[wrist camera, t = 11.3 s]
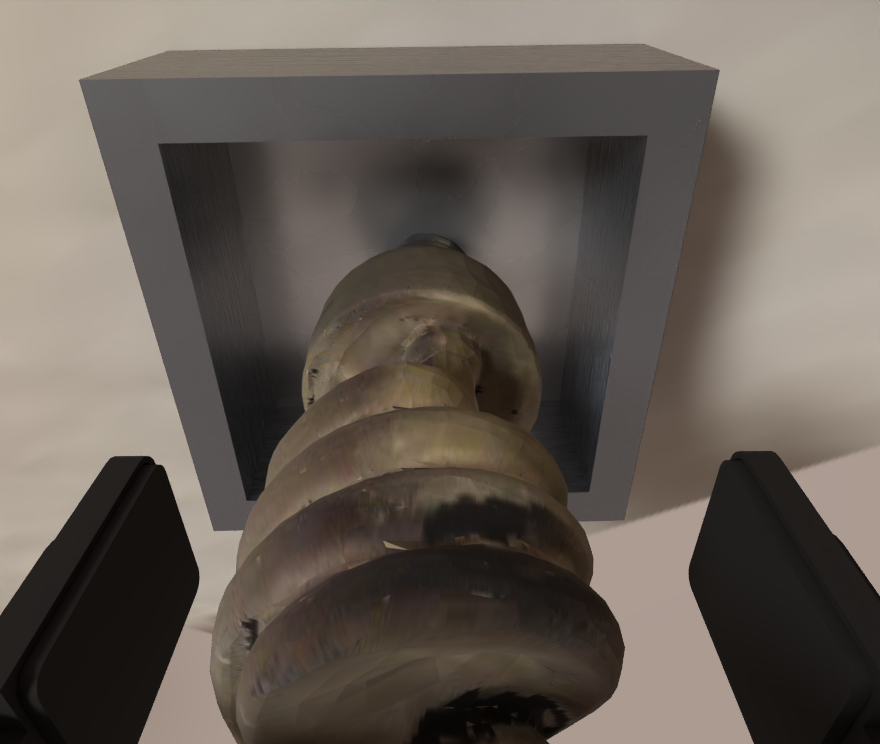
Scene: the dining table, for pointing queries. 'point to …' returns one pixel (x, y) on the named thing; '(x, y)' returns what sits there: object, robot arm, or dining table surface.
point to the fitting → (404, 223)
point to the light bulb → (414, 533)
